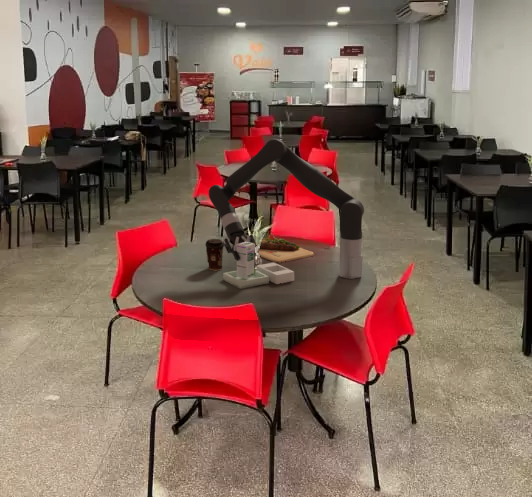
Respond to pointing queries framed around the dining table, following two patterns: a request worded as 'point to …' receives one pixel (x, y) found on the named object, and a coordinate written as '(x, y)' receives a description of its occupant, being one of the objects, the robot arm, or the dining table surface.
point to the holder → (276, 273)
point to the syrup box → (246, 260)
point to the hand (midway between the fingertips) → (246, 258)
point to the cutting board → (281, 250)
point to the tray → (244, 283)
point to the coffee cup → (214, 254)
